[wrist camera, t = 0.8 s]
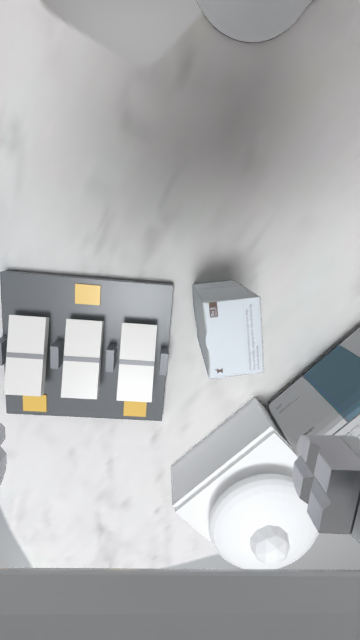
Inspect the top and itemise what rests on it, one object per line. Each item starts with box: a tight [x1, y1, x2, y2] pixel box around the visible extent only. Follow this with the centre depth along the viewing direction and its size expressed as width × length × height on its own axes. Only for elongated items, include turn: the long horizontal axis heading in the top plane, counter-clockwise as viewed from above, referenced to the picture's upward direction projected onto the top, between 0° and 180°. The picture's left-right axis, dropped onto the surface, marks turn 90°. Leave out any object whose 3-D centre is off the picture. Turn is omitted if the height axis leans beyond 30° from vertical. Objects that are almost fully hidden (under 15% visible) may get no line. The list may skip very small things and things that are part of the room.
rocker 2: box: [61, 319, 104, 399], centre depth 43 cm, size 10×4×2 cm, turn 175°
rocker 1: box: [4, 315, 50, 396], centre depth 42 cm, size 10×4×2 cm, turn 175°
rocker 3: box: [117, 323, 157, 402], centre depth 43 cm, size 10×4×2 cm, turn 175°
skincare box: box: [193, 280, 264, 379], centre depth 40 cm, size 8×6×15 cm
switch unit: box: [0, 270, 173, 421], centre depth 45 cm, size 20×22×5 cm
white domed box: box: [171, 397, 319, 569], centre depth 46 cm, size 18×18×16 cm
